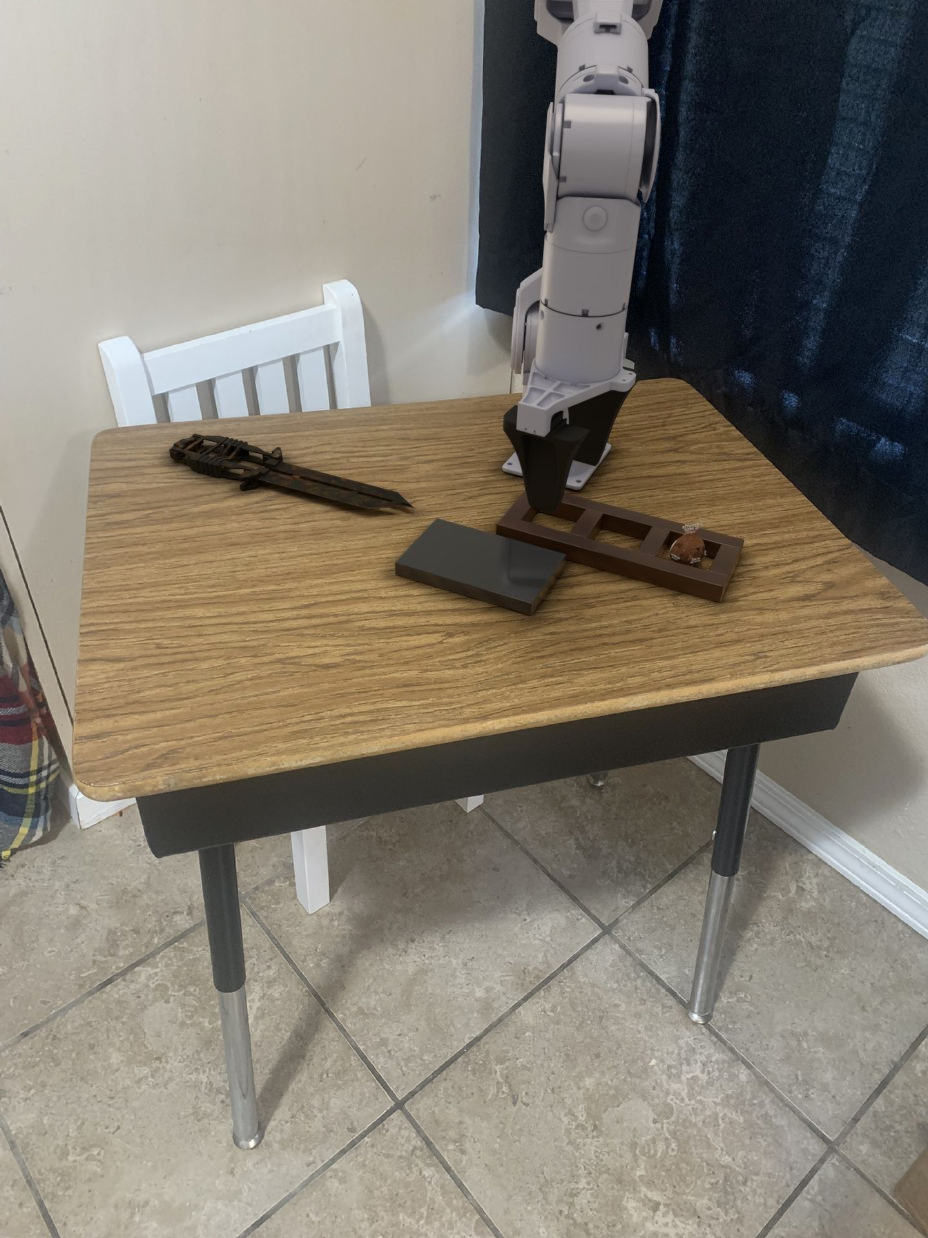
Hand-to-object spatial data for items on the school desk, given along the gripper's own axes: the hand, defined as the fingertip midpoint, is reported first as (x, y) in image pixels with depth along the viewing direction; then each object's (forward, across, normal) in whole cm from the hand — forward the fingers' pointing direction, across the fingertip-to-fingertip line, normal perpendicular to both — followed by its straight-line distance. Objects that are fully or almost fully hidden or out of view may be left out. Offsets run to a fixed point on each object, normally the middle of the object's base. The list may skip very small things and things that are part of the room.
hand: (564, 483), depth 72 cm
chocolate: (+10, +9, -8) cm, 16 cm away
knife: (+10, +4, +28) cm, 30 cm away
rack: (+10, +9, -2) cm, 14 cm away
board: (+10, 0, +7) cm, 12 cm away
